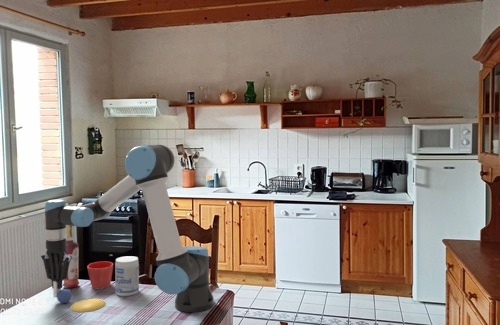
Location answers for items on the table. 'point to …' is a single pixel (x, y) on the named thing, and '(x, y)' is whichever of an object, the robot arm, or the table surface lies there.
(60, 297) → the ball
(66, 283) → the liquor
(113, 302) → the table surface
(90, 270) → the flower pot
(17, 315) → the table surface
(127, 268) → the supplement tub
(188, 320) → the table surface
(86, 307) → the disc
